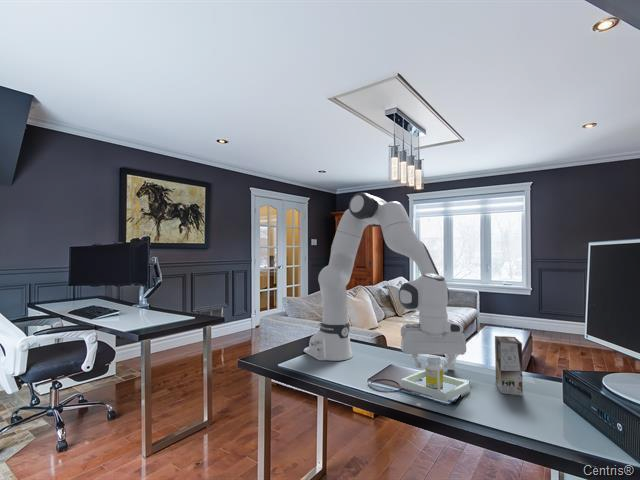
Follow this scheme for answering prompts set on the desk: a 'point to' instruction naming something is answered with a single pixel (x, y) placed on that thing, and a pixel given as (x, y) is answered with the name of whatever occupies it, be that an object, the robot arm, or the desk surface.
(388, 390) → the socket ring
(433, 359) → the supplement bottle
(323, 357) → the robot arm
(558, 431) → the desk surface
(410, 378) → the tray
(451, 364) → the lightbulb
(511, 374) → the coffee box
